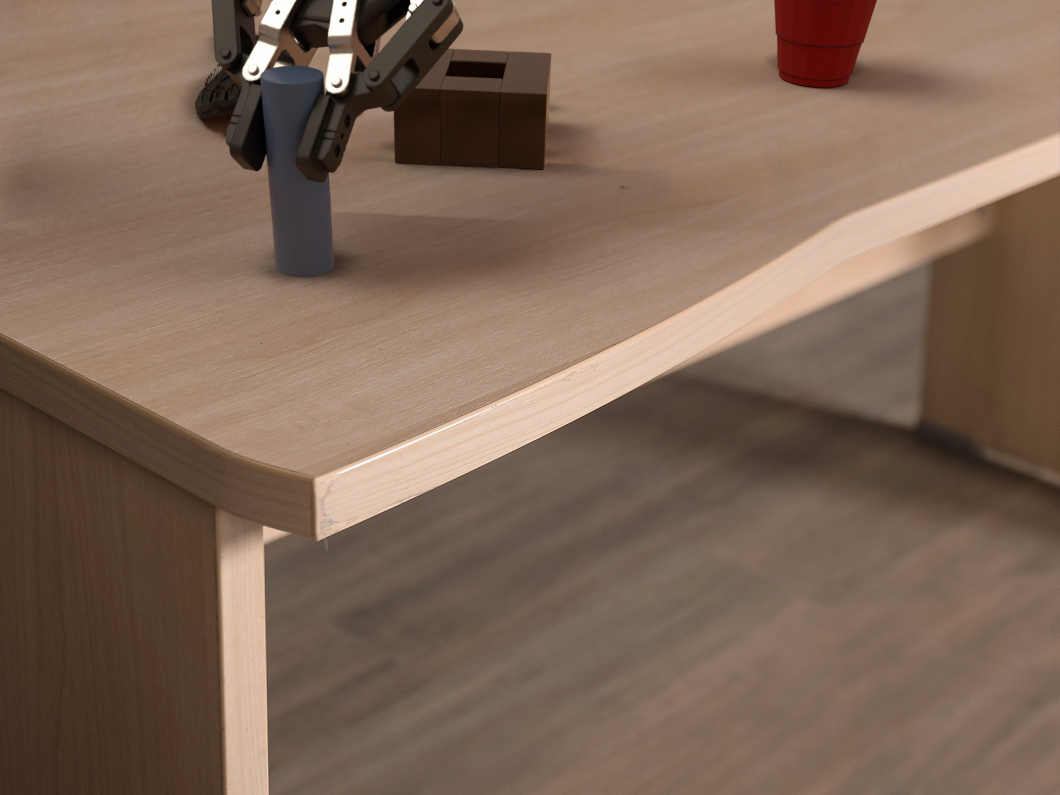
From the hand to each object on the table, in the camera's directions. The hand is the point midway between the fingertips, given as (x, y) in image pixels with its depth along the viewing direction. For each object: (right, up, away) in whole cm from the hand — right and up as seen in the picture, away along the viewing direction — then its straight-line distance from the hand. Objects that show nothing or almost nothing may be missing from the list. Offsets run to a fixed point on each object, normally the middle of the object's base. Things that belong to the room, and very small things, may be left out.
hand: (276, 167), depth 59 cm
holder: (+8, +6, +25) cm, 27 cm away
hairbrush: (-9, +12, +34) cm, 37 cm away
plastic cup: (+35, +15, +42) cm, 57 cm away
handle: (0, -5, +5) cm, 7 cm away
